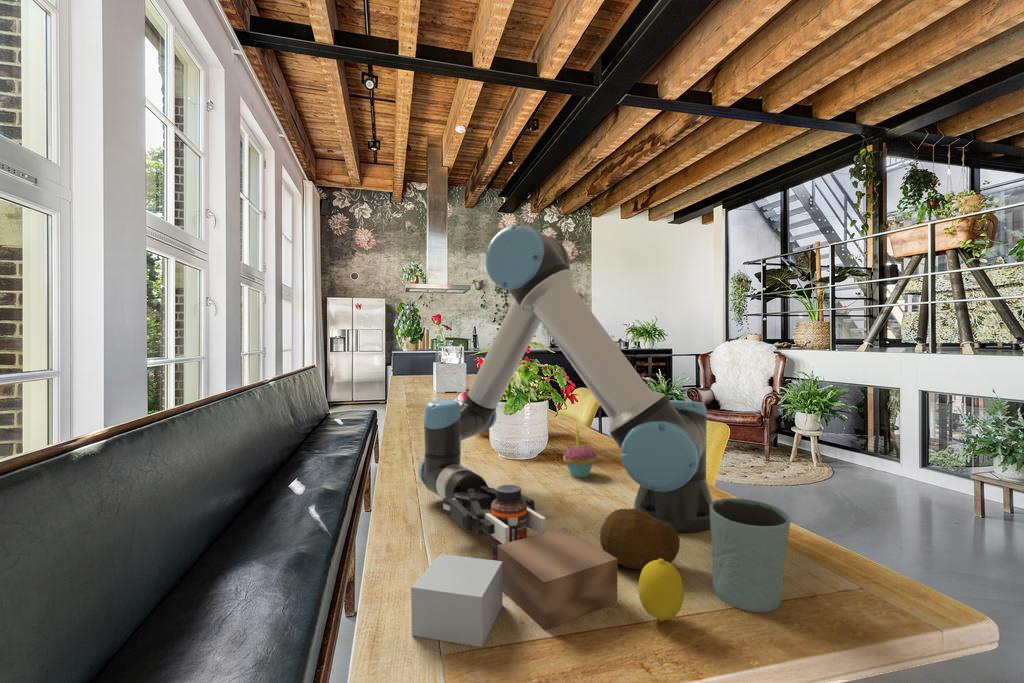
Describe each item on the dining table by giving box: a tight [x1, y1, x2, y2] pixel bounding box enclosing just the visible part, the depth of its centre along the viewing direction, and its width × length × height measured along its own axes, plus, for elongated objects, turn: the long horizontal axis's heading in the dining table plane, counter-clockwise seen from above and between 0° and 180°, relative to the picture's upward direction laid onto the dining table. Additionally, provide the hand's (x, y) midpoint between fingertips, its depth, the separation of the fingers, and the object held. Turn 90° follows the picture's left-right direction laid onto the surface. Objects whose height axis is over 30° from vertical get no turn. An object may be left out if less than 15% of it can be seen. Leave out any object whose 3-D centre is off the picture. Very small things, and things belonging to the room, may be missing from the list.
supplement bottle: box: [490, 484, 528, 561], centre depth 80 cm, size 6×6×11 cm
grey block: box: [410, 553, 504, 648], centre depth 63 cm, size 9×9×6 cm
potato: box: [599, 508, 681, 571], centre depth 77 cm, size 8×12×9 cm
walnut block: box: [497, 527, 619, 631], centre depth 69 cm, size 12×12×6 cm
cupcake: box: [562, 425, 598, 479], centre depth 124 cm, size 9×8×12 cm
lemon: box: [637, 558, 685, 623], centre depth 63 cm, size 6×6×8 cm
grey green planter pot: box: [710, 497, 791, 613], centre depth 69 cm, size 10×10×12 cm
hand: (525, 531), depth 76 cm, fingers closed on supplement bottle, 6 cm apart
